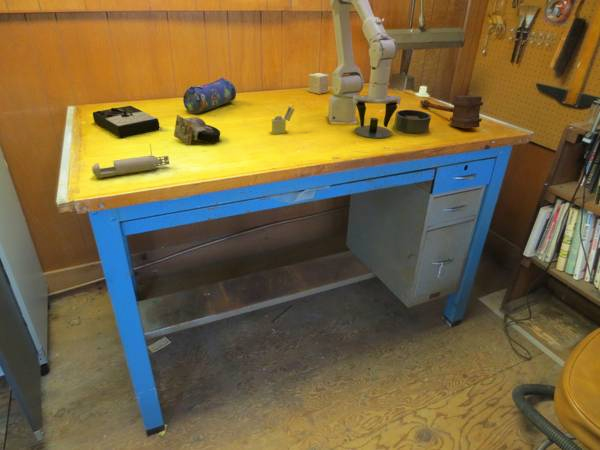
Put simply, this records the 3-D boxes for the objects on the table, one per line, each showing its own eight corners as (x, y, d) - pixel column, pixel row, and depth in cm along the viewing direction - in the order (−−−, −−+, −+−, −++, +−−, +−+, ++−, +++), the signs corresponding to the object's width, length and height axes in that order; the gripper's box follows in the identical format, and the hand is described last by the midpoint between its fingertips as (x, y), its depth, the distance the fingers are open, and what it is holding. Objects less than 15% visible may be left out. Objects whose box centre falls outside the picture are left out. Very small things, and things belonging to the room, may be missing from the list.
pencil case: (200, 116, 146) (197, 88, 141) (181, 112, 149) (178, 85, 144) (238, 103, 162) (237, 77, 158) (220, 99, 166) (219, 74, 161)
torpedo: (95, 182, 99) (88, 156, 96) (93, 174, 103) (87, 149, 99) (171, 169, 107) (168, 145, 103) (167, 163, 110) (164, 139, 107)
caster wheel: (223, 147, 128) (200, 152, 120) (195, 132, 132) (172, 136, 124) (227, 126, 125) (204, 130, 117) (199, 112, 129) (175, 114, 121)
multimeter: (132, 115, 144) (130, 101, 142) (160, 129, 133) (158, 114, 130) (93, 123, 136) (90, 107, 134) (120, 138, 125) (116, 122, 122)
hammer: (464, 128, 139) (467, 97, 136) (412, 119, 169) (414, 93, 165) (481, 127, 141) (485, 96, 137) (427, 118, 170) (429, 92, 167)
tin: (398, 135, 136) (401, 119, 133) (390, 125, 145) (392, 109, 142) (432, 136, 136) (435, 119, 134) (421, 125, 146) (424, 109, 143)
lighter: (273, 134, 133) (273, 109, 129) (271, 132, 134) (271, 107, 130) (294, 132, 135) (294, 107, 131) (292, 130, 137) (292, 105, 132)
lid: (357, 140, 130) (359, 124, 128) (351, 128, 141) (352, 113, 138) (395, 141, 131) (397, 125, 129) (386, 128, 141) (388, 113, 139)
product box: (328, 92, 182) (329, 74, 178) (319, 94, 178) (320, 76, 175) (317, 89, 186) (318, 72, 182) (308, 91, 182) (309, 74, 178)
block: (406, 131, 139) (408, 119, 137) (403, 127, 142) (405, 115, 140) (418, 131, 139) (420, 119, 137) (414, 127, 142) (416, 115, 140)
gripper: (357, 84, 124) (353, 129, 130) (406, 85, 125) (399, 130, 132) (353, 79, 130) (349, 122, 137) (399, 80, 131) (393, 123, 138)
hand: (373, 126), depth 134 cm, fingers open, 7 cm apart
